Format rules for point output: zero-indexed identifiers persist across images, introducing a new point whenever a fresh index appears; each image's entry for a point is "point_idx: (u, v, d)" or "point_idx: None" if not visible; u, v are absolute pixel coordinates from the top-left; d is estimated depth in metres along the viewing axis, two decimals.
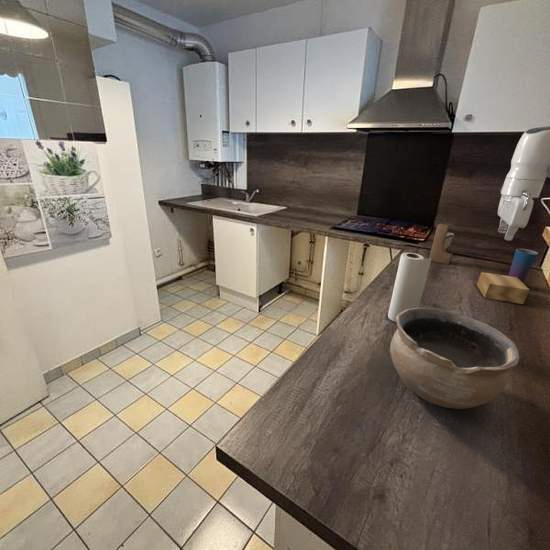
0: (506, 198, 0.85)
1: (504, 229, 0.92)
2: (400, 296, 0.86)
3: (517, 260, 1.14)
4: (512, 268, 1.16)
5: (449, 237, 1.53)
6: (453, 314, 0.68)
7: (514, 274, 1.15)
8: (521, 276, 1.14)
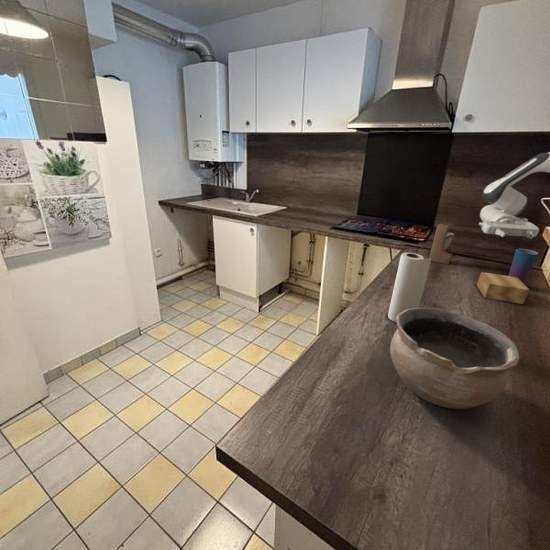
0: None
1: (527, 234, 1.20)
2: (400, 296, 0.86)
3: (517, 260, 1.14)
4: (512, 268, 1.16)
5: (449, 237, 1.53)
6: (453, 314, 0.68)
7: (514, 274, 1.15)
8: (521, 276, 1.14)
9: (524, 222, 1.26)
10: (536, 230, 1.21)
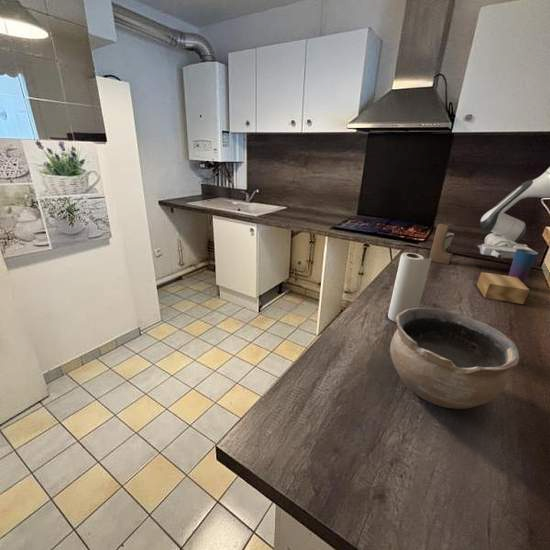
0: None
1: None
2: (400, 296, 0.86)
3: (517, 260, 1.14)
4: (512, 268, 1.16)
5: (449, 237, 1.53)
6: (453, 314, 0.68)
7: (514, 274, 1.15)
8: (521, 276, 1.14)
9: (523, 247, 1.31)
10: None
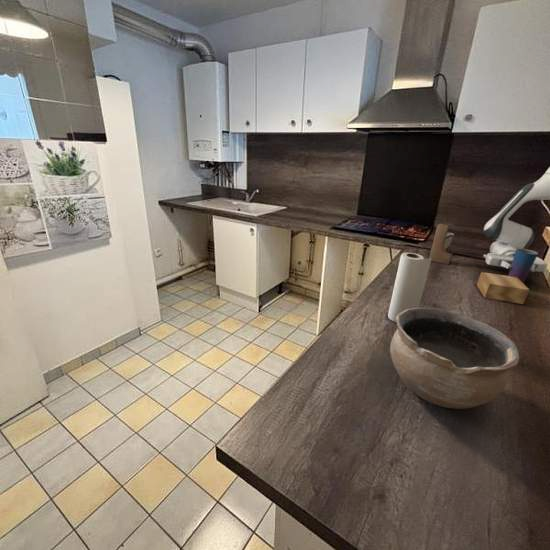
0: None
1: None
2: (400, 296, 0.86)
3: (516, 260, 1.14)
4: (512, 268, 1.16)
5: (449, 237, 1.53)
6: (453, 314, 0.68)
7: (514, 274, 1.15)
8: (521, 276, 1.14)
9: None
10: (543, 265, 1.16)
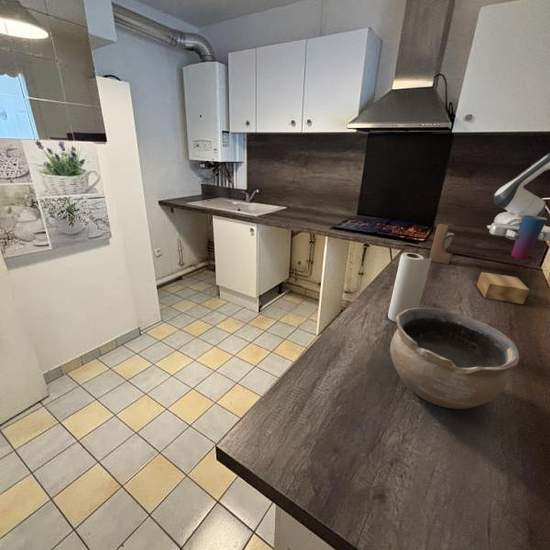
0: (511, 236, 1.17)
1: None
2: (400, 296, 0.86)
3: (523, 227, 1.05)
4: None
5: (449, 237, 1.53)
6: (453, 314, 0.68)
7: (520, 243, 1.07)
8: (528, 245, 1.05)
9: None
10: None
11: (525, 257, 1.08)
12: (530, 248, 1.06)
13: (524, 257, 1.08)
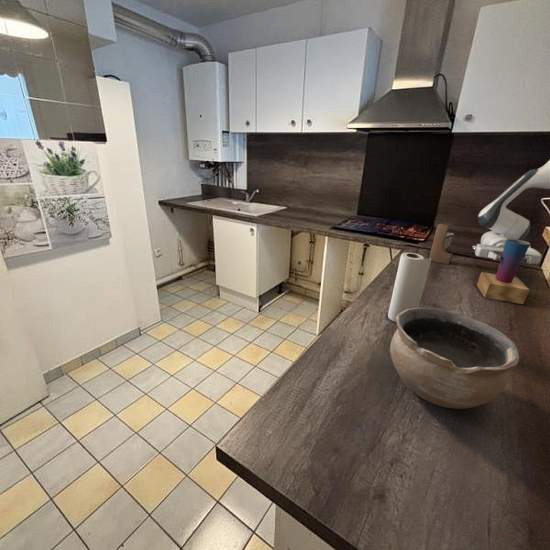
0: None
1: (525, 259, 1.04)
2: (400, 296, 0.86)
3: (507, 251, 1.04)
4: (502, 260, 1.06)
5: (449, 237, 1.53)
6: (453, 314, 0.68)
7: (504, 267, 1.05)
8: (512, 269, 1.04)
9: None
10: (537, 256, 1.05)
11: (509, 281, 1.06)
12: (514, 272, 1.05)
13: (508, 281, 1.06)
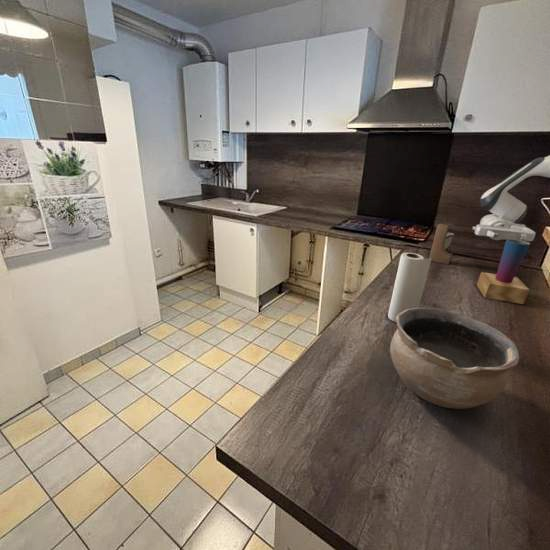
0: None
1: (520, 236, 1.14)
2: (400, 296, 0.86)
3: (507, 251, 1.04)
4: (502, 260, 1.06)
5: (449, 237, 1.53)
6: (453, 314, 0.68)
7: (504, 267, 1.05)
8: (512, 269, 1.04)
9: (521, 227, 1.21)
10: (531, 234, 1.16)
11: (509, 281, 1.06)
12: (514, 272, 1.05)
13: (508, 281, 1.06)
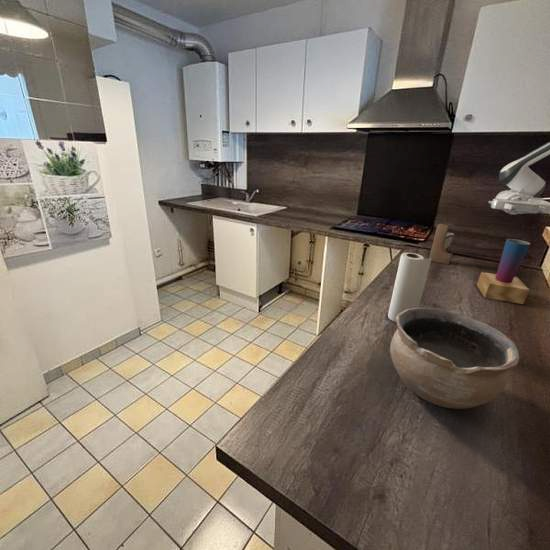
0: (511, 211, 1.25)
1: (539, 208, 1.14)
2: (400, 296, 0.86)
3: (507, 251, 1.04)
4: (502, 260, 1.06)
5: (449, 237, 1.53)
6: (453, 314, 0.68)
7: (504, 267, 1.05)
8: (512, 269, 1.04)
9: (538, 200, 1.20)
10: None
11: (509, 281, 1.06)
12: (514, 272, 1.05)
13: (508, 281, 1.06)
